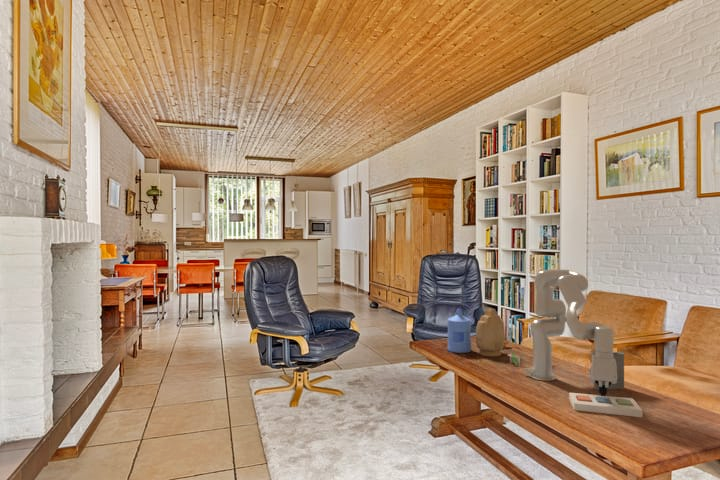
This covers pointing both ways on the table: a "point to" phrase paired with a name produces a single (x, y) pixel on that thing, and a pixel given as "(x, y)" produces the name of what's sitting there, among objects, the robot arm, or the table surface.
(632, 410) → the button board
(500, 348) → the sculpture
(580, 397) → the terracotta button
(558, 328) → the robot arm
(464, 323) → the water jug
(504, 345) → the magic lamp
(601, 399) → the slate blue button
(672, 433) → the table surface
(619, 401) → the olive green button
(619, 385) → the hip flask
